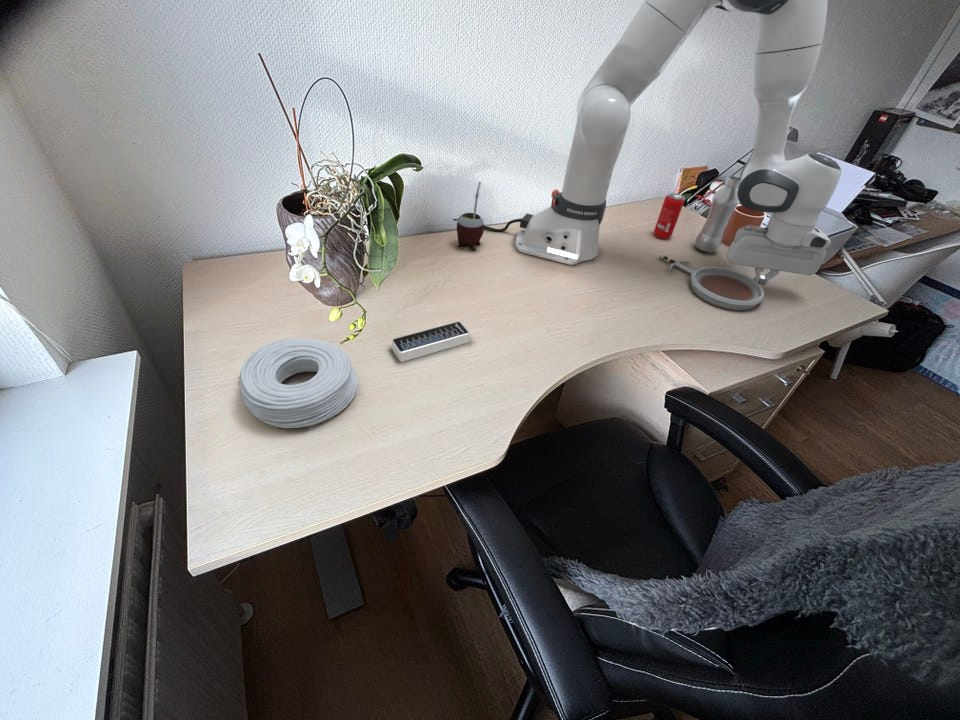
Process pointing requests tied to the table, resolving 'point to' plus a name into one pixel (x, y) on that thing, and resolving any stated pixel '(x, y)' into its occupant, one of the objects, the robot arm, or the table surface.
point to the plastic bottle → (719, 215)
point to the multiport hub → (430, 341)
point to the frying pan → (722, 286)
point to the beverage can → (668, 215)
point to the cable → (300, 400)
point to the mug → (741, 222)
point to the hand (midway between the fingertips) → (759, 283)
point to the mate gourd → (470, 227)
